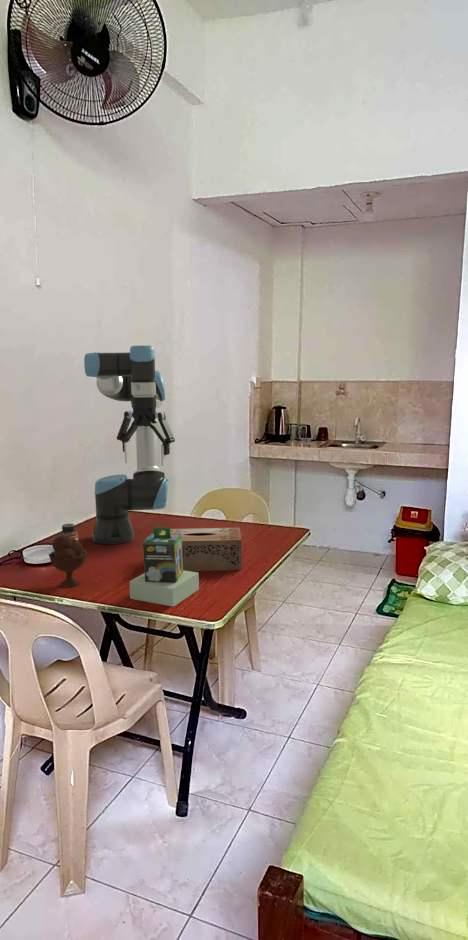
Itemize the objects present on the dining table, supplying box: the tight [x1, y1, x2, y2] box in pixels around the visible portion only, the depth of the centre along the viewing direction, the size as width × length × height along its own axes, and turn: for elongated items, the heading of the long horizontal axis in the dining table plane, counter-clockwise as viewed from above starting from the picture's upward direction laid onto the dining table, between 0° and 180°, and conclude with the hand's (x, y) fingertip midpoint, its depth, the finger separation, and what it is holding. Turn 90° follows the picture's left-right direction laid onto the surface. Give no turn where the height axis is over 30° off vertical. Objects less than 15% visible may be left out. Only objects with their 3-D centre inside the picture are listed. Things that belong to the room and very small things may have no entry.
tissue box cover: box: [160, 527, 243, 572], centre depth 204 cm, size 26×14×10 cm, turn 91°
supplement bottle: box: [59, 523, 79, 541], centre depth 211 cm, size 6×6×11 cm
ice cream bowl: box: [48, 535, 88, 587], centre depth 186 cm, size 11×11×15 cm
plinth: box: [129, 570, 200, 607], centre depth 178 cm, size 14×14×5 cm
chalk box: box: [142, 526, 183, 583], centre depth 176 cm, size 9×9×15 cm
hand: (146, 463), depth 200 cm, fingers open, 13 cm apart
